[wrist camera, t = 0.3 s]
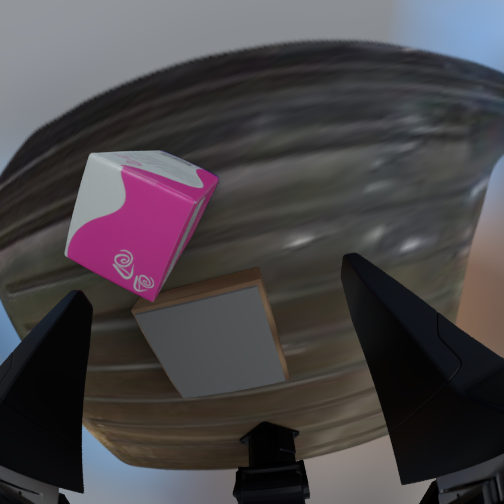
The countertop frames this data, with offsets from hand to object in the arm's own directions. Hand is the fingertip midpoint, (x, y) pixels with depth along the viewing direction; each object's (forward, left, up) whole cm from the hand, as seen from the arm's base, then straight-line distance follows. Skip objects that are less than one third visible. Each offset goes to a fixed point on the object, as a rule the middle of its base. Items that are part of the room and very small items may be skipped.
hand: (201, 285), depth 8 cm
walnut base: (-12, -6, -15) cm, 20 cm away
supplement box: (-2, +4, -15) cm, 16 cm away
